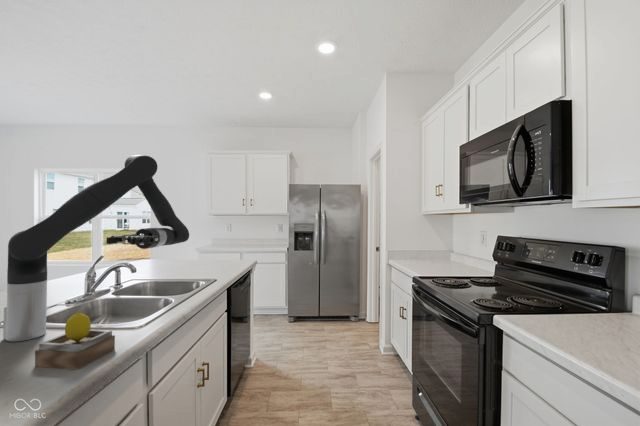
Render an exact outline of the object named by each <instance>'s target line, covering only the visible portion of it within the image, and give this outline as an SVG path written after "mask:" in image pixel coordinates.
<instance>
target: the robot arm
mask: <svg viewBox="0 0 640 426" xmlns="http://www.w3.org/2000/svg"><path fill="white" fill-rule="evenodd" d="M157 171H158V163H157V161H156V160H155V159H154V157H153V156H152V157H151V156H150V155H146V154H134V155H130V156H129V157H127V158H126V159H125V161H124V167H123V168H122V169H121V170H119V171H118V172H116V173H115V174H113V175H111V176H109V177H107V178H104V179H102V180H99V181H97V182H95V183H92V184H91V185H89V186H86V187H85V188H84V189H82V190H81V191H79V192H77V193H76V194H75V195H73V196H72V197H71V198H69V199H68V200H67V201H65V202H64V203H63V204H62V205H61V206H59V208H58V209H56V210H55V211H54V212H53V213H52V214H51V215H50V216H48V217H47V218H45V219H43V220H42V221H40V222H38V223H37V224H35V225H33V226H31V227H29V228H27V229H25V230H22V231H18V232H17V233H15V234H14V235H12V236H11V237H10V239H9V241H8V244H7V269H6V270H7V271H6V272H7V274H6V275H7V276H6V277H7V278H6V279H7V280H6V281H7V283H6V306H5V307H4V308H3V328H2V329H3V333H2V334H3V335H2V336H3V337H2V339H3V340H5V341H6V342H13V343H14V342H25V341H29V340H34V339H38V338H39V337H42V336H45V334H46V333H47V311H48V310H47V300H48V299H47V298H48V251H50V249H52V247H54V246H55V245H56V244H58V242H59V241H61V240H62V239H63V238H64V237H66V236H67V235H68V234H70V233H71V232H74V231H75V230H76V229H79V228H80V227H81V226H83V225H85V224H86V223H87V222H89V221H91V220H93V218H96V216H98V215H100V214H101V213H103V212H104V211H105V210H107V209H108V208H109V207H111V206H112V205H113V204H114V203H116V202H117V201H119V200H120V199H121V198H122V197H124V195H126V194H127V193H129V192H130V191H131V190H133V189H134V188H136V187H138V189H139V190H140V192H141V193H142V195H143V196H144V198H145V200H146V201H147V203H148V205H149V206H150V208H151V211H152V212H153V214H154V216H155V218H156V220H157V222H158V224H159V225H160V226H161V227H144V228H139V229H138V230H137V231H136V232H135V233H131V234H130V233H129V234H128V233H127V234H121V235H110V236H108V237H106V238H105V239H106V240H105V241H106V242H105V243H106V244H107V245H113V244H115V245H117V244H122V245H123V246H124V245H131V246H135V245H136V246H137V248H139V249H142V250H147V249H153V248H159V247H162V246H171V245H176V244H181V243H185V242H187V241H188V240H189V237H190V232H189V229H188V227H187V226H186V225H185V224H184V223H183V222H182V220H180V218H179V217H177V215H176V213H175V211H174V209H173V207H172V205H171V204H170V202H169V200H168V199H167V198H166V196H165V194H163V193H162V191H161V190H160V189H159V187H158V185H157V184H156V182H155V181H154V178H153V177H154V176H155V175H156V173H157ZM168 227H169V228H168Z"/></svg>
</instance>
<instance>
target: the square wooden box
mask: <svg viewBox="0 0 640 426" xmlns="http://www.w3.org/2000/svg"><path fill="white" fill-rule="evenodd" d="M115 339H116V335H114V334H113V330H109V329H106V330H105V329H91V328H90V331H89V333H88V335H87V336H86V337H85V338H83V339H81V340H80V341H79V342H75V341H74V340H70V339H68V338H67V336H66V334H65V333H63V334H60V335H58V336H56V337H55V336H54V337H53V338H49V339H47V340H46V341H42V342H40V343H38V349H35V351H34V367H38V368H39V367H40V368H55V369H67V370H80V369H81V368H83V367H85V366H87V365H88V364H91V363H92V362H94V361H96V360H98V359H100V358H102V357H104V356H105V355H107V354H109V353H110V352H112V351H114V350H115V347H116V343H115V342H116V340H115Z"/></svg>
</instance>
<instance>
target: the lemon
mask: <svg viewBox="0 0 640 426" xmlns="http://www.w3.org/2000/svg"><path fill="white" fill-rule="evenodd" d="M91 325H92V324H91V319H90V317H89V316H88V315H87V314H85V313H82V312H79V311H78V312H77V313H75V314H72V315H71V316H70V317H69V318H68V319H67V321H66V323H65V326H64V334H66V336H67V338H68V339H70V340H74V341H75V342H79V341H80V340H81V339H83V338H85V337H86V336H87V335H88V333H89V331H90V329H91V327H92V326H91Z"/></svg>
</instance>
